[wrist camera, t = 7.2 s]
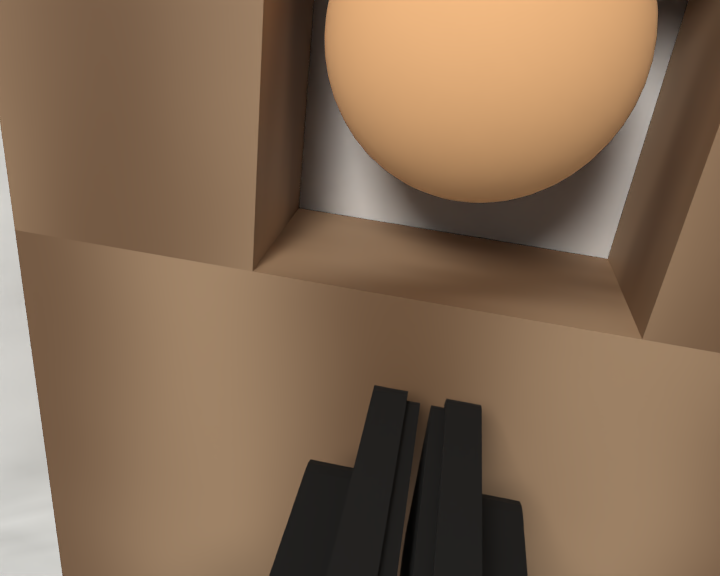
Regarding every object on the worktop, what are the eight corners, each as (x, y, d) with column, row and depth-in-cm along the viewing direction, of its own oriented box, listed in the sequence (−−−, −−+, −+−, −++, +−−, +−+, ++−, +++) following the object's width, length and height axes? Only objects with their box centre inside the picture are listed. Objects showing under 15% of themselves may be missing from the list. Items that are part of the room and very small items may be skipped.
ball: (643, -94, 10) (551, 177, 12) (364, -157, 10) (316, 128, 12) (800, -122, 6) (627, 283, 8) (348, -227, 6) (280, 213, 8)
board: (1100, -253, 8) (1383, -351, 6) (657, 643, 17) (690, 772, 14) (72, -344, 10) (-79, -456, 7) (130, 529, 18) (69, 628, 15)
